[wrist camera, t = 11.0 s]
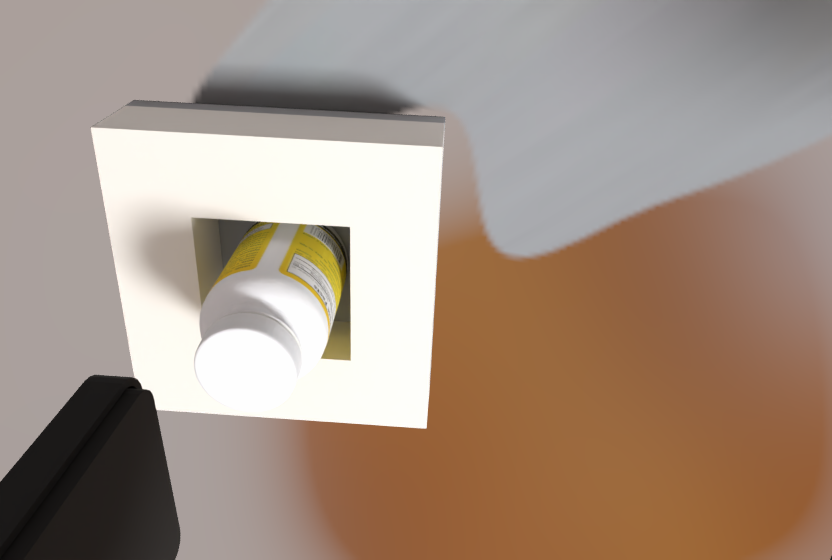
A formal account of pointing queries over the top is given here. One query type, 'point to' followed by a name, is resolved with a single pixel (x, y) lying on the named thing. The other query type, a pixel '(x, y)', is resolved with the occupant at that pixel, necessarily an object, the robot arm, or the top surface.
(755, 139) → the top surface
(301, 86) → the top surface
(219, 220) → the sleeve holder
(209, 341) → the supplement bottle
